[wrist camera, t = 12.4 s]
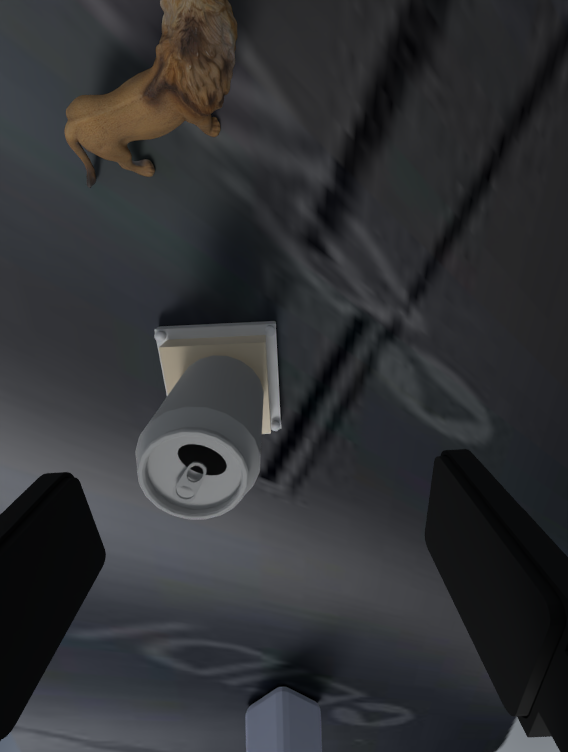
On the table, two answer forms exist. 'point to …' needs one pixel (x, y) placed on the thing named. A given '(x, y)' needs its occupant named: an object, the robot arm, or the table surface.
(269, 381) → the tower base
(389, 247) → the table surface
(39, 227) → the table surface
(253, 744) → the soap bottle
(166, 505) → the can
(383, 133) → the table surface
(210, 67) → the lion figurine
